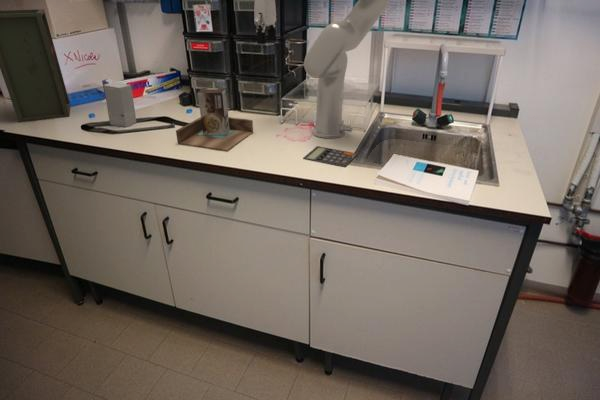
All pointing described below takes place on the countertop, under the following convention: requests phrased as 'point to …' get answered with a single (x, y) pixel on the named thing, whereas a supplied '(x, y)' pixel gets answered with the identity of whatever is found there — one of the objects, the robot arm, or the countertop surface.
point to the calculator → (330, 156)
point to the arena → (195, 137)
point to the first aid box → (31, 66)
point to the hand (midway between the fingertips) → (266, 41)
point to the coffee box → (214, 111)
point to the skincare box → (120, 104)
